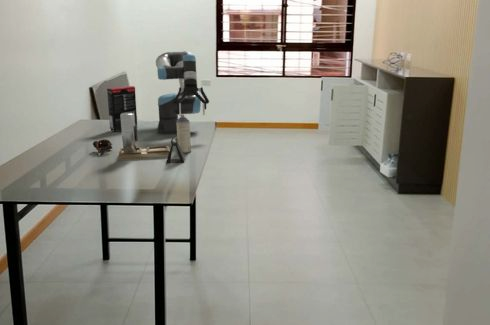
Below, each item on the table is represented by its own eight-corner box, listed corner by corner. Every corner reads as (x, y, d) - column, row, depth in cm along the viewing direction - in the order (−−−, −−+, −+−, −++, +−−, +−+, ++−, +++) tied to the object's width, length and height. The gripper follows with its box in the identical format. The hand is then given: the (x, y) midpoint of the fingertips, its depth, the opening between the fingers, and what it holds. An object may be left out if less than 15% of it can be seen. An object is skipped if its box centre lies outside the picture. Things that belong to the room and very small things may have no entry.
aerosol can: (191, 149, 282) (189, 113, 277) (191, 153, 276) (189, 115, 270) (178, 150, 282) (176, 113, 276) (178, 153, 275) (175, 116, 270)
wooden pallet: (119, 155, 275) (118, 148, 274) (169, 151, 280) (168, 145, 279) (118, 160, 265) (118, 153, 264) (170, 156, 269) (170, 150, 268)
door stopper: (185, 159, 264) (183, 136, 261) (184, 162, 258) (183, 139, 255) (167, 160, 263) (165, 136, 260) (166, 163, 258) (164, 139, 254)
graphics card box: (133, 126, 346) (129, 85, 339) (138, 128, 341) (135, 86, 334) (109, 130, 335) (105, 88, 328) (115, 132, 330) (111, 89, 323)
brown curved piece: (117, 151, 286) (115, 140, 280) (107, 162, 279) (105, 151, 273) (98, 144, 288) (95, 133, 282) (88, 155, 282) (86, 144, 276)
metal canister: (123, 151, 273) (120, 113, 268) (138, 150, 274) (135, 112, 269) (123, 154, 266) (119, 115, 261) (138, 153, 268) (135, 114, 262)
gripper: (169, 77, 299) (170, 112, 294) (212, 77, 304) (214, 112, 299) (168, 82, 306) (169, 117, 301) (210, 82, 311) (213, 116, 306)
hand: (192, 114), depth 300 cm, fingers open, 13 cm apart
